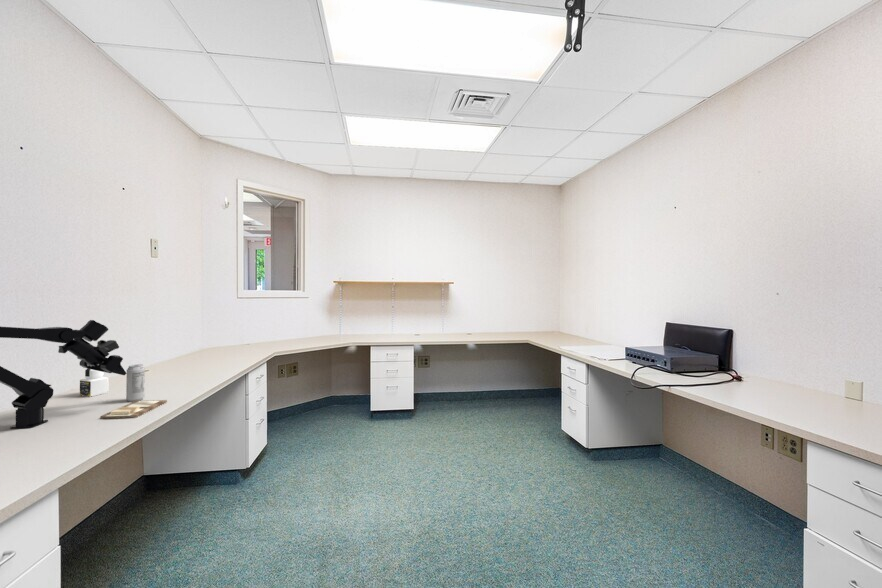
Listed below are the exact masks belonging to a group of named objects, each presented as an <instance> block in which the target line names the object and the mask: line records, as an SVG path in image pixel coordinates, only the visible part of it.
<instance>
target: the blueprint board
mask: <svg viewBox="0 0 882 588" xmlns="http://www.w3.org/2000/svg"><path fill="white" fill-rule="evenodd" d="M166 402H167V403H168V400H167V399H160V400H159V399H156V400H155V399H153V400H151V399H150V400H140V401H134V402H129V403H127V404H125V405H123V406H121V407H117V408H116V409H113V410H112V411H109V412H107V413H105V414H102V415H100V417H99V418H100V420H104V419H103V418H112V419H121V418H120V417H137V418H139V417H141V416H142V414H143V415H145V414H146V412H147V413H149V412H151V411H153V410H155V409H157V408H158V406H159V407H160V405H161V406H162V404H163V405H165V404H166ZM164 403H165V404H164ZM156 407H157V408H156ZM154 408H155V409H154ZM152 409H153V410H152ZM150 410H151V411H150ZM148 411H149V412H148ZM144 413H145V414H144ZM140 415H141V416H140ZM138 416H139V417H138Z"/></svg>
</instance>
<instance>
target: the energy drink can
mask: <svg viewBox="0 0 882 588" xmlns="http://www.w3.org/2000/svg"><path fill="white" fill-rule="evenodd" d="M145 369H146V368H145V367H144V364H141V363H139V364H130V365H128V368H126V385H125V387H126V389H125V390H126V391H125V392H126V393H125V395H126V397H125V400H126V401H129V403H132V402H134V401H144V398H145V394H146V393H145V385H146V384H145V383H146V382H145V381H146V375H145V374H146V370H145Z"/></svg>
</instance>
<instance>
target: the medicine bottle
mask: <svg viewBox="0 0 882 588" xmlns="http://www.w3.org/2000/svg"><path fill="white" fill-rule="evenodd" d="M84 373H85V375H84V376H85V377H84V378H83V379H80V380H79V396H80V395H82V396H83V397H88V396H89V397H88V398H91V396H92V397H96V395H97V396H101V395H104V394H105V393H106V394H108V393H109V392H110V391H109V389H110V387H109V386H110V385H109V384H110V383H109V382H110V379H109V377H108V376H107V377H106V376H104V375H105V374H104V373H105V372H102V371H97V370H92V369H87V368H85V370H84ZM100 394H101V395H100ZM82 396H81V397H82Z"/></svg>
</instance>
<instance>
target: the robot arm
mask: <svg viewBox="0 0 882 588" xmlns="http://www.w3.org/2000/svg"><path fill="white" fill-rule="evenodd" d="M108 331H109V328H108V326H106V325H104V324H102V323H100V322H97V321H96V320H94V319H90V320H88V321H87V323H86V324H85V325H83V326H82V327H81V328H80V329H73V328H71V327H70V328H69V327H67V326H66V327H64V326H63V327H62V326H51V327H49V326H48V327H40V328H32V327H31V328H30V327H29V328H28V327H13V326H0V338H2V339H5V338H6V339H25V340H27V339H28V340H29V339H31V340H41V341H45V342H51V343H59V344H63V345H58V353H59V354H66V353H67V352H69V353H72V355H74V356H76V358H77V359H78V360H80V361H79V366H80V367H82V368H83V369H92V370H97V371H102V372H104V373H107V374H116V375H120V376H126V375H127V371H125V369H124V368H123V366H122V365H121V363H122V362H123V360H124V358H123V357H122V356H120V355H117V354H113V355H112V354H111V355H110V352H112V351H115V350H118V349H119V348H120V346H119V344H118V343H117V341H116V340H114V339H112V340H111V339H109V340H104V339H101V340H99V339H100V338H101V337H102V336H104V334H105V333H107V332H108ZM92 341H94V342H97V343H96V344H97V345H96V346H94V345H92V344H91V343H90V342H92ZM0 384H2V385H5V386H6V387H9V388H10V389H12V390H13V391H14V392H15V393H16V394H17V395H18V397H16V398H15V399H14V400H12V401H11V406H12V407H13V408H15V425H12V426H10V429H30V428H34V427H36V426H39V425H42V424H45V423H47V422H49V420H48V419H45V417H44V416H45V412H44V411H45V409H44V408H45V407H47V404H48V402H49V400H50V399H52V397H53V395H54V388H53V387H52V384H48V383H46V382H44V381H43V380H42V379H40V378H35V377H30V378H29V379H26V378H24V377H22V376H20V375H18V374H17V373H15V372H12V371H11V370H8V369H7V368H5V367H3V366H1V365H0ZM16 408H17V409H16Z"/></svg>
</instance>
